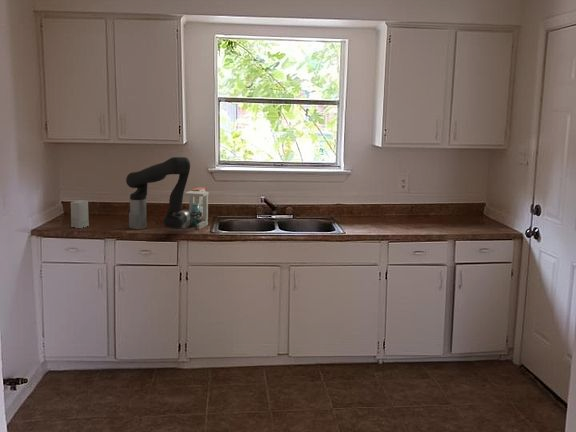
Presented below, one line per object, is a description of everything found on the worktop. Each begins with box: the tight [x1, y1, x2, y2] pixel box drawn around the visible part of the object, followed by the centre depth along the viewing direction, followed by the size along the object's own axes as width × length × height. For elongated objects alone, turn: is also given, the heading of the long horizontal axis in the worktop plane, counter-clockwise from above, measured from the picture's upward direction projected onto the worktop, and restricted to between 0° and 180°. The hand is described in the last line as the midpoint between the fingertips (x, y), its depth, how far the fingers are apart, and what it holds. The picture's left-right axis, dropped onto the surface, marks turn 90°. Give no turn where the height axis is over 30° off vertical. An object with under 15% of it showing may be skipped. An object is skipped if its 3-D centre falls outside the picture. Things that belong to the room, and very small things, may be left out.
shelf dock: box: [181, 190, 210, 230], centre depth 355 cm, size 16×12×21 cm
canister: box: [190, 203, 200, 228], centre depth 356 cm, size 5×5×14 cm
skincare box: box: [70, 199, 90, 229], centre depth 342 cm, size 8×7×16 cm
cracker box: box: [190, 186, 208, 219], centre depth 376 cm, size 14×6×21 cm, turn 168°
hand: (192, 212), depth 352 cm, fingers open, 8 cm apart
